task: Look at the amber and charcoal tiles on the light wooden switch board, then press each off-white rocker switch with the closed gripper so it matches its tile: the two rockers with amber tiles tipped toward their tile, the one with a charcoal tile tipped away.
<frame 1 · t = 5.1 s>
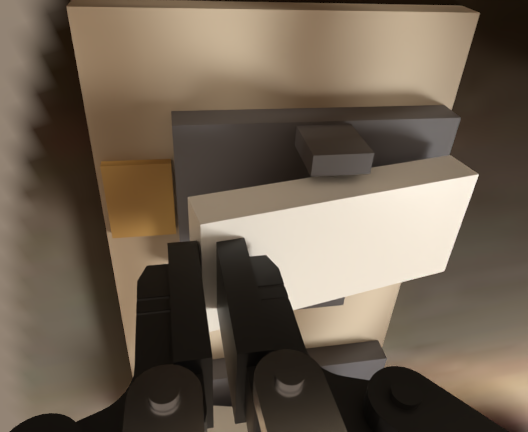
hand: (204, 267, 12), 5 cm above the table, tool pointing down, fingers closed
rocker a: (334, 239, 13), point 4 cm above the table, hinge at -11.1°, touching gripper
switch board: (257, 374, 22), on the table
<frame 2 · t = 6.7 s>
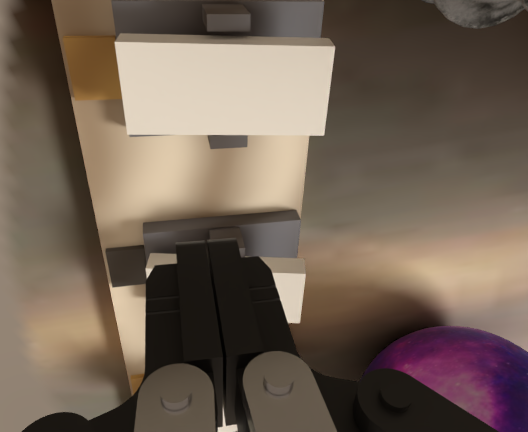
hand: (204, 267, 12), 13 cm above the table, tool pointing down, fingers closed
rocker b: (226, 289, 25), point 4 cm above the table, hinge at 12.0°
rocker a: (227, 86, 18), point 4 cm above the table, hinge at 7.3°
decorative orb: (409, 348, 38), on the table
rocker c: (231, 408, 31), point 4 cm above the table, hinge at -12.0°
switch board: (203, 246, 28), on the table
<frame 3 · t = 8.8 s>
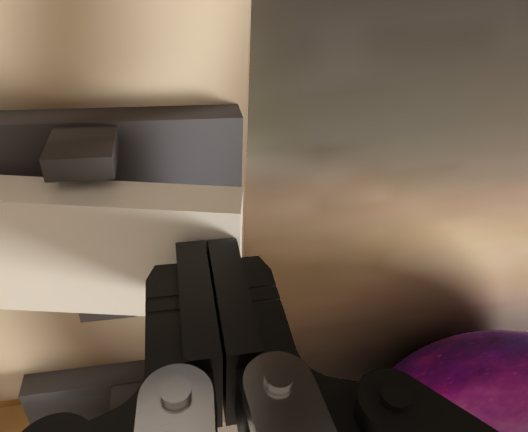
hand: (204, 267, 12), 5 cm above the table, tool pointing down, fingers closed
rocker b: (89, 249, 12), point 4 cm above the table, hinge at 12.0°, touching gripper
decorative orb: (432, 363, 26), on the table
switch board: (74, 178, 15), on the table
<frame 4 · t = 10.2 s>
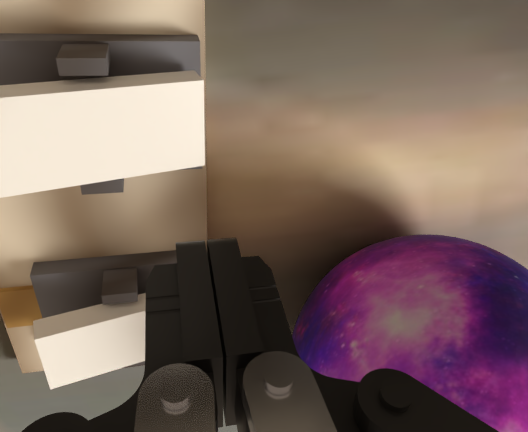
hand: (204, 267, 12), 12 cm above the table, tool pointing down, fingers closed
rocker b: (96, 131, 17), point 4 cm above the table, hinge at -12.4°
decorative orb: (370, 278, 31), on the table
rocker c: (127, 332, 24), point 4 cm above the table, hinge at -12.0°
switch board: (75, 95, 20), on the table
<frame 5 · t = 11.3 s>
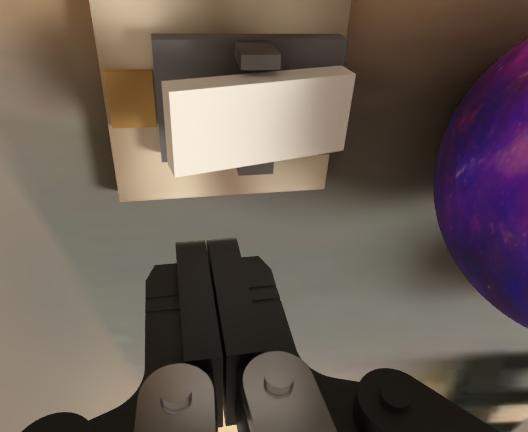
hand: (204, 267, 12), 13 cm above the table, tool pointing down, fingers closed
decorative orb: (507, 115, 27), on the table
rocker c: (261, 119, 20), point 4 cm above the table, hinge at -12.0°
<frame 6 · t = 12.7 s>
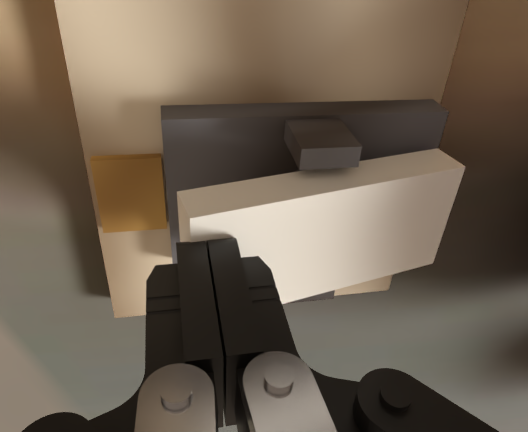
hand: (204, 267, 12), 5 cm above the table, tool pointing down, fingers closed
rocker c: (323, 232, 13), point 4 cm above the table, hinge at -11.7°, touching gripper
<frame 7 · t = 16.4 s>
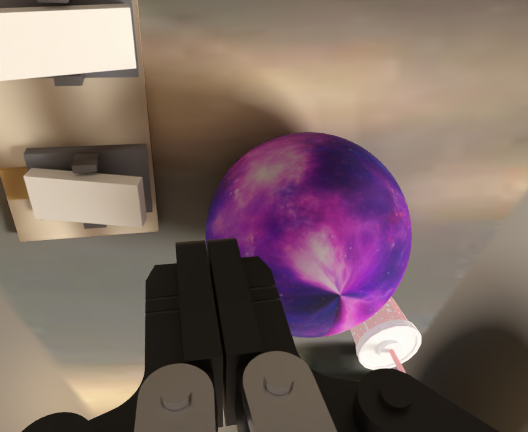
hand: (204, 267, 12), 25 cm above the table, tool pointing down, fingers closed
beverage cup: (355, 281, 50), on the table
rocker b: (62, 41, 28), point 4 cm above the table, hinge at -15.6°
decorative orb: (283, 181, 41), on the table
rocker c: (87, 198, 34), point 4 cm above the table, hinge at 15.5°
switch board: (52, 25, 30), on the table
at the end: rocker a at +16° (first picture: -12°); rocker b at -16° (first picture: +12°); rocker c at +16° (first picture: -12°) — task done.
